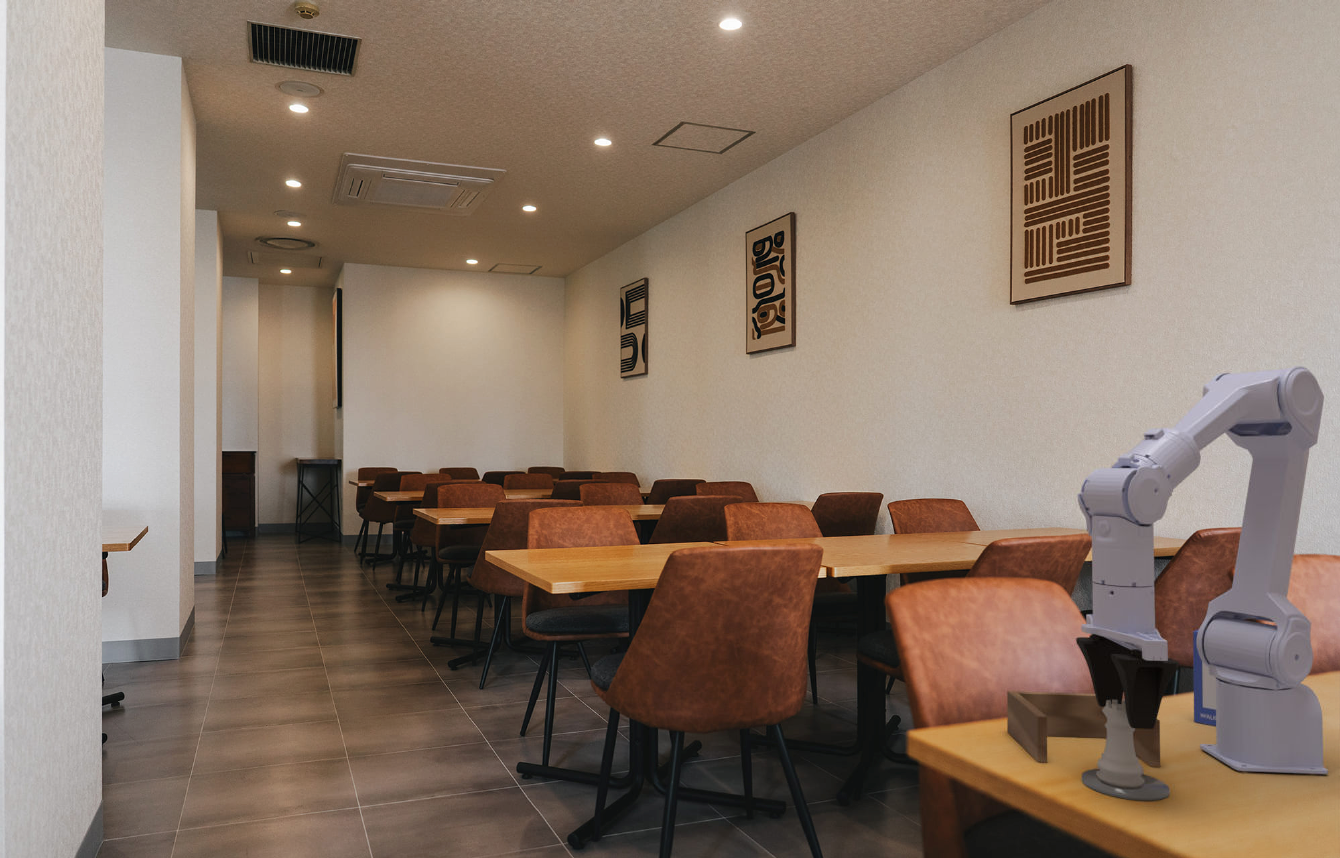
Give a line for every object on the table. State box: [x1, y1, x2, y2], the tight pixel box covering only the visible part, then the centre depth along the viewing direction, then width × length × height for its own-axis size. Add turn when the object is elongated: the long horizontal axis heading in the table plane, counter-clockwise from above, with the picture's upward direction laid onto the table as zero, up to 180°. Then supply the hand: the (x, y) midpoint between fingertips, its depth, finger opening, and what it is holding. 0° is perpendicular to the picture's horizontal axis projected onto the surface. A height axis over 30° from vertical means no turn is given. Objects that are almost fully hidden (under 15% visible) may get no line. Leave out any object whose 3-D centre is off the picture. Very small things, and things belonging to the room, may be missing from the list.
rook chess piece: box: [1096, 700, 1145, 789], centre depth 90 cm, size 4×4×8 cm
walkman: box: [1192, 628, 1216, 727], centre depth 112 cm, size 8×3×12 cm, turn 44°
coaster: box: [1081, 768, 1170, 802], centre depth 90 cm, size 8×8×1 cm
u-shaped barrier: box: [1006, 690, 1161, 768], centre depth 102 cm, size 13×11×5 cm
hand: (1124, 716), depth 91 cm, fingers open, 7 cm apart
